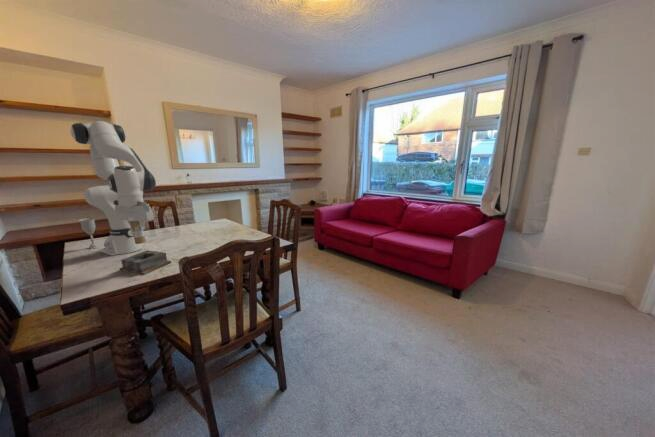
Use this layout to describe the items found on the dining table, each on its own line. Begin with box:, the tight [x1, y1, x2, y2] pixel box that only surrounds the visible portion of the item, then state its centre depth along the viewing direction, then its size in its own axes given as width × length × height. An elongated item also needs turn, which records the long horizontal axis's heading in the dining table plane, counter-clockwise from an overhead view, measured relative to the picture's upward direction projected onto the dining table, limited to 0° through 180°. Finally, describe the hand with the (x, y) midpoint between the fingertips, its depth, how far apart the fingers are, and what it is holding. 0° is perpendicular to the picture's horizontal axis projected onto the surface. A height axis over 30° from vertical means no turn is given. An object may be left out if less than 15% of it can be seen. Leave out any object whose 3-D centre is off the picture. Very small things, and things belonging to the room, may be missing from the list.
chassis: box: [119, 249, 172, 276], centre depth 125 cm, size 17×14×6 cm
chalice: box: [78, 217, 100, 249], centre depth 153 cm, size 7×7×18 cm
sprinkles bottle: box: [128, 217, 147, 244], centre depth 121 cm, size 5×5×13 cm
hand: (138, 229), depth 121 cm, fingers closed on sprinkles bottle, 4 cm apart
